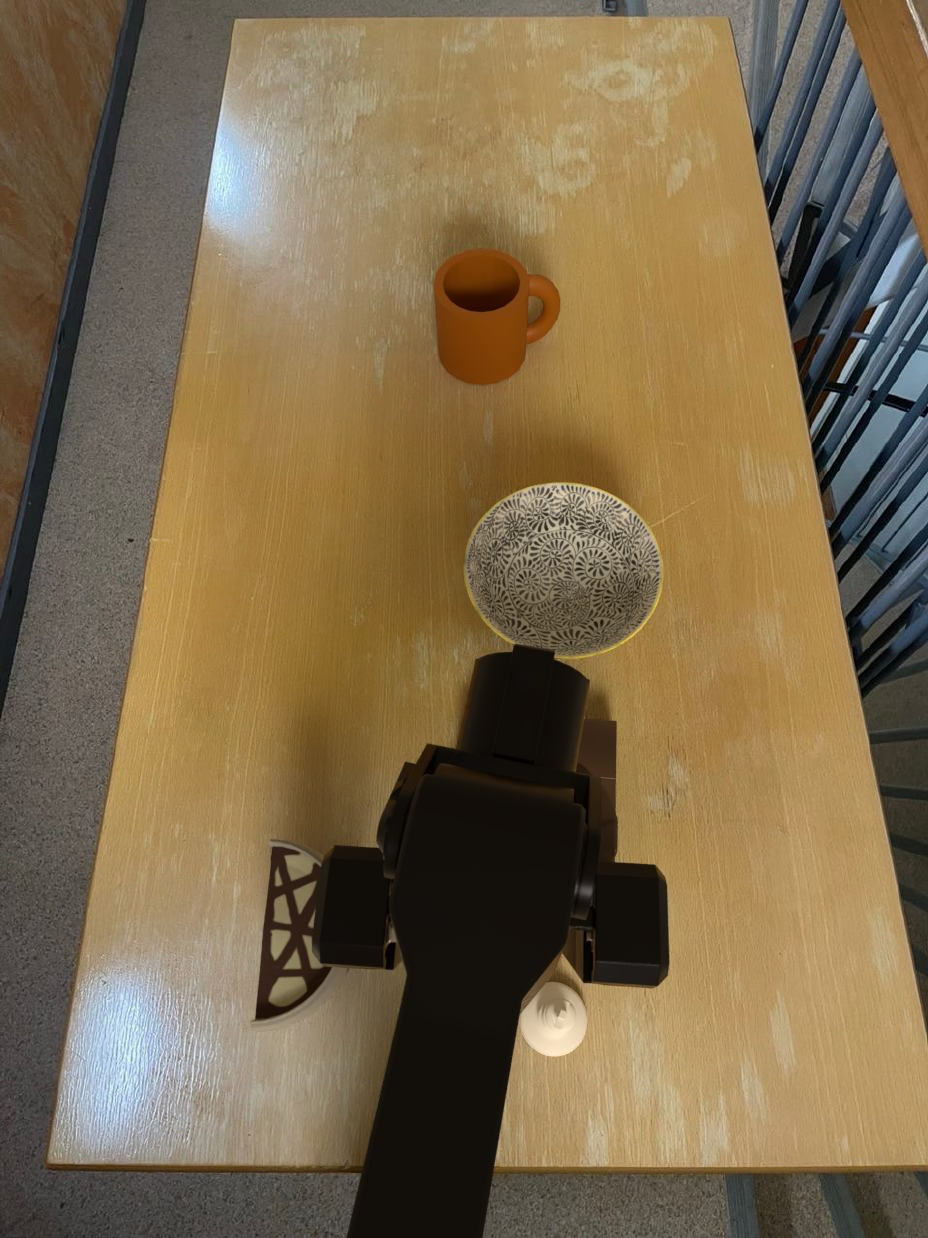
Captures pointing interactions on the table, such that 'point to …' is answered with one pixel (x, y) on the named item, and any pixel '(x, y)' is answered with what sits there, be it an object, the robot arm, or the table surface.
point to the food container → (291, 942)
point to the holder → (602, 777)
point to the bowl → (563, 569)
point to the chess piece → (554, 1020)
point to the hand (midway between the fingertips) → (490, 934)
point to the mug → (488, 314)
